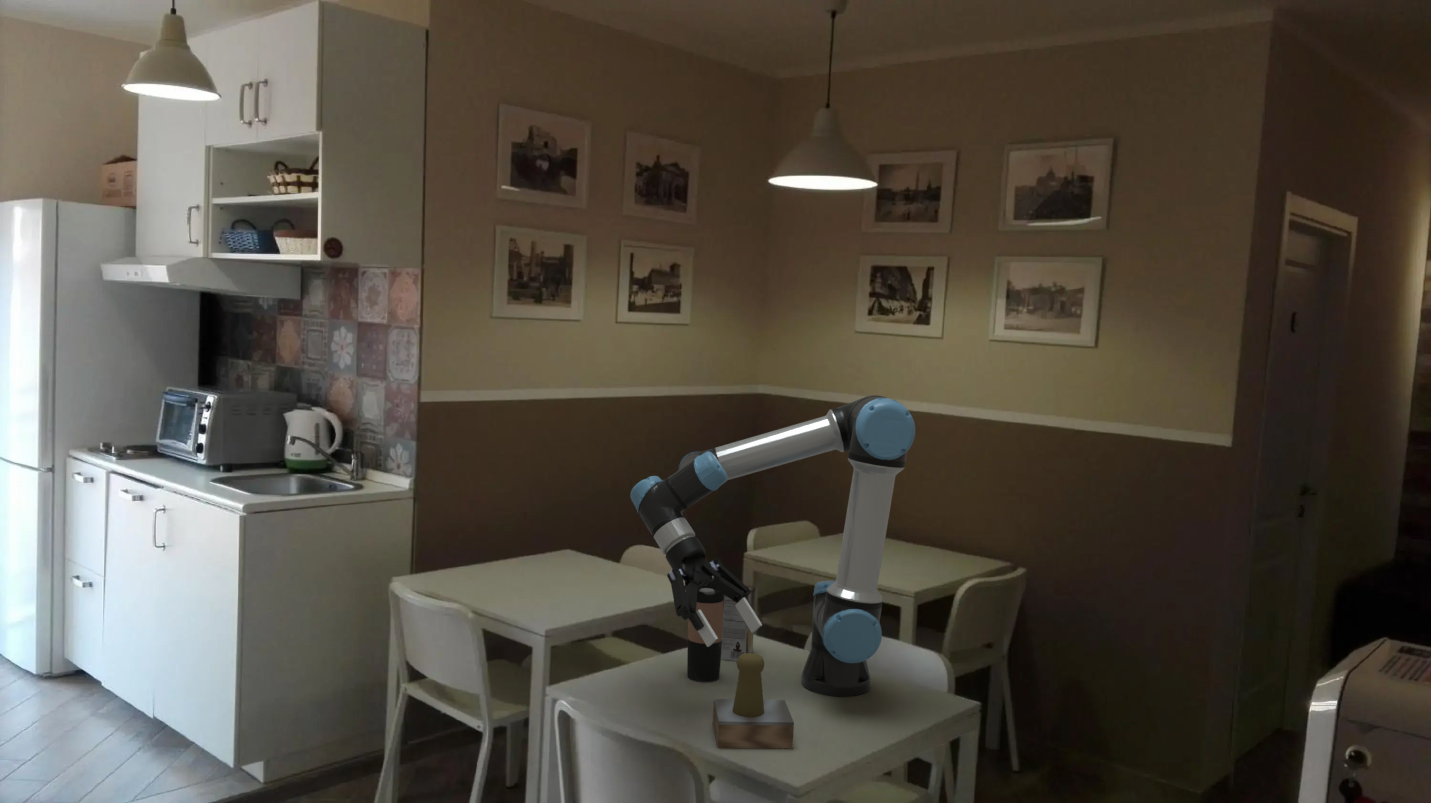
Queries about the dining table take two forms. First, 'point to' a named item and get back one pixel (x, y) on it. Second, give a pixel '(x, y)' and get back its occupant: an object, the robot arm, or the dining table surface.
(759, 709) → the cork
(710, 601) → the travel mug
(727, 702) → the walnut stand
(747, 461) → the robot arm
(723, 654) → the coffee box
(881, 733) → the dining table surface
